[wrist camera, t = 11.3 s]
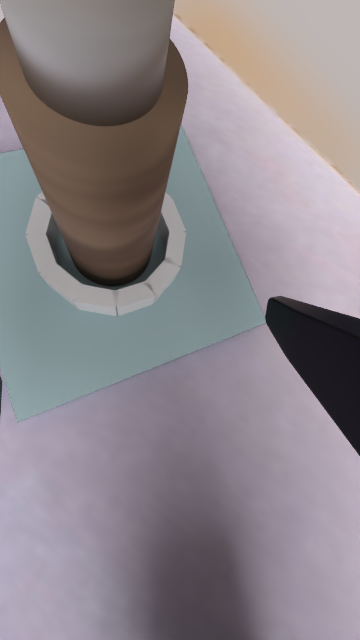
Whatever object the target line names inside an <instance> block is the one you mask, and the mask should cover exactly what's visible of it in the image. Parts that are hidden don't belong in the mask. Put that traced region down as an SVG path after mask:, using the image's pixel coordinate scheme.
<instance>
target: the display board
mask: <svg viewBox="0 0 360 640" xmlns="http://www.w3.org/2000/svg"><path fill="white" fill-rule="evenodd" d="M265 323H266V320H265V316H264V314H263V312H262V310H261V307H260V305H259V303H258V300H257V298H256V296H255V293H254V291H253V289H252V287H251V284H250V282H249V280H248V277H247V275H246V273H245V270H244V268H243V266H242V263H241V261H240V259H239V257H238V254H237V252H236V250H235V247H234V245H233V243H232V240H231V238H230V236H229V233H228V231H227V229H226V227H225V224H224V222H223V220H222V217H221V215H220V213H219V210H218V208H217V206H216V204H215V201H214V199H213V197H212V194H211V192H210V190H209V187H208V185H207V183H206V180H205V178H204V176H203V174H202V171H201V169H200V167H199V164H198V162H197V160H196V157H195V155H194V153H193V151H192V148H191V146H190V144H189V141H188V139H187V137H186V134H185V132H184V130H183V127H182V125H181V126H180V130H179V135H178V139H177V144H176V148H175V152H174V157H173V161H172V166H171V170H170V174H169V179H168V183H167V187H166V192H165V196H164V201H163V205H162V209H161V214H160V218H159V222H158V227H157V231H156V236H155V240H154V244H153V249H152V253H151V258H150V261H149V264H148V266H147V268H146V270H145V271H144V272H143V274H142V275H141V276H140V277H138V278H137V279H136V280H134V281H133V282H131V283H128V284H125V285H122V286H113V287H111V286H103V285H99V284H96V283H94V282H92V281H90V280H88V279H87V278H85V277H84V276H83V275H82V274H81V273H80V272H79V271H78V269H77V268H76V267H75V265H74V263H73V261H72V258H71V256H70V254H69V252H68V249H67V247H66V245H65V242H64V240H63V238H62V235H61V233H60V231H59V229H58V226H57V224H56V222H55V219H54V217H53V215H52V213H51V210H50V208H49V206H48V203H47V201H46V199H45V196H44V194H43V192H42V190H41V187H40V185H39V183H38V180H37V178H36V176H35V173H34V171H33V169H32V167H31V164H30V162H29V160H28V157H27V155H26V153H25V151H24V149H21V150H16V151H10V152H4V153H0V368H1V372H2V375H3V378H4V381H5V384H6V387H7V391H8V394H9V397H10V400H11V403H12V407H13V410H14V413H15V416H16V419H17V422H20V421H22V420H25V419H27V418H30V417H32V416H35V415H37V414H40V413H42V412H45V411H47V410H50V409H52V408H55V407H57V406H60V405H62V404H65V403H67V402H70V401H72V400H75V399H77V398H80V397H82V396H85V395H87V394H90V393H92V392H95V391H97V390H100V389H102V388H105V387H107V386H110V385H112V384H115V383H117V382H120V381H122V380H125V379H127V378H130V377H132V376H135V375H137V374H140V373H142V372H145V371H147V370H150V369H152V368H155V367H157V366H160V365H162V364H165V363H167V362H170V361H172V360H175V359H177V358H180V357H182V356H185V355H187V354H190V353H192V352H195V351H197V350H200V349H202V348H205V347H207V346H210V345H212V344H215V343H217V342H220V341H222V340H225V339H227V338H230V337H232V336H235V335H237V334H240V333H242V332H245V331H247V330H250V329H252V328H255V327H257V326H260V325H262V324H265Z"/></svg>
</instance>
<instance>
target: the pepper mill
mask: <svg viewBox="0 0 360 640" xmlns="http://www.w3.org/2000/svg"><path fill="white" fill-rule="evenodd" d="M174 1H175V0H0V4H1V8H2V11H3V13H4V17H5V18H4V19H3V20H2V21H1V22H0V95H1V98H2V100H3V102H4V105H5V107H6V109H7V112H8V114H9V116H10V118H11V121H12V123H13V125H14V128H15V130H16V132H17V134H18V137H19V139H20V141H21V144H22V146H23V148H24V151H25V153H26V155H27V157H28V160H29V162H30V164H31V167H32V169H33V171H34V173H35V176H36V178H37V180H38V183H39V185H40V187H41V190H42V192H43V194H44V196H45V199H46V201H47V203H48V206H49V208H50V210H51V213H52V215H53V217H54V219H55V222H56V224H57V226H58V229H59V231H60V233H61V235H62V238H63V240H64V242H65V245H66V247H67V249H68V252H69V254H70V256H71V258H72V261H73V263H74V265H75V267H76V268H77V269H78V271H79V272H80V273H81V274H82V275H83V276H84V277H85V278H87V279H88V280H90V281H92V282H94V283H96V284H99V285H103V286H111V287H113V286H122V285H125V284H128V283H131V282H133V281H134V280H136V279H137V278H138V277H140V276H141V275H142V274H143V272H144V271H145V270H146V268H147V266H148V264H149V261H150V258H151V253H152V249H153V244H154V240H155V236H156V231H157V227H158V222H159V218H160V214H161V209H162V205H163V201H164V196H165V192H166V187H167V183H168V179H169V174H170V170H171V166H172V161H173V157H174V152H175V148H176V144H177V139H178V135H179V130H180V126H181V122H182V117H183V113H184V109H185V104H186V99H187V94H188V79H187V72H186V69H185V65H184V62H183V60H182V58H181V55H180V53H179V52H178V50H177V48H176V46H175V45H174V43H173V42H172V41H171V39H170V30H171V23H172V16H173V8H174Z"/></svg>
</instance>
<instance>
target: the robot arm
mask: <svg viewBox="0 0 360 640" xmlns="http://www.w3.org/2000/svg"><path fill="white" fill-rule="evenodd" d="M265 320H266V323H267V325H268V327H269V329H270V330H271V332H272V334H273V336H274V337H275V339H276V341H277V342H278V344H279V346H280V348H281V349H282V351H283V353H284V354H285V356H286V357H287V359H288V360H289V361H290V363H291V364H292V365H293V367H294V368H295V370H296V371H297V372H298V374H299V375H300V376H301V378H302V379H303V380H304V382H305V383H306V384H307V386H308V387H309V388H310V390H311V391H312V392H313V394H314V395H315V396H316V398H317V399H318V400H319V402H320V403H321V405H322V406H323V407H324V409H325V410H326V411H327V413H328V414H329V415H330V417H331V418H332V419H333V421H334V422H335V423H336V425H337V426H338V427H339V429H340V430H341V431H342V433H343V434H344V435H345V437H346V438H347V440H348V441H349V442H350V444H351V445H352V446H353V448H354V449H355V450H356V452H357V453H358V454H359V456H360V319H359V318H355V317H352V316H349V315H345V314H342V313H338V312H335V311H331V310H328V309H324V308H321V307H317V306H314V305H311V304H307V303H304V302H300V301H297V300H293V299H290V298H286V297H283V296H277V297H272V298H270V299H269V300H268V304H267V310H266V316H265ZM1 395H2V380H1V377H0V414H1Z"/></svg>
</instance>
